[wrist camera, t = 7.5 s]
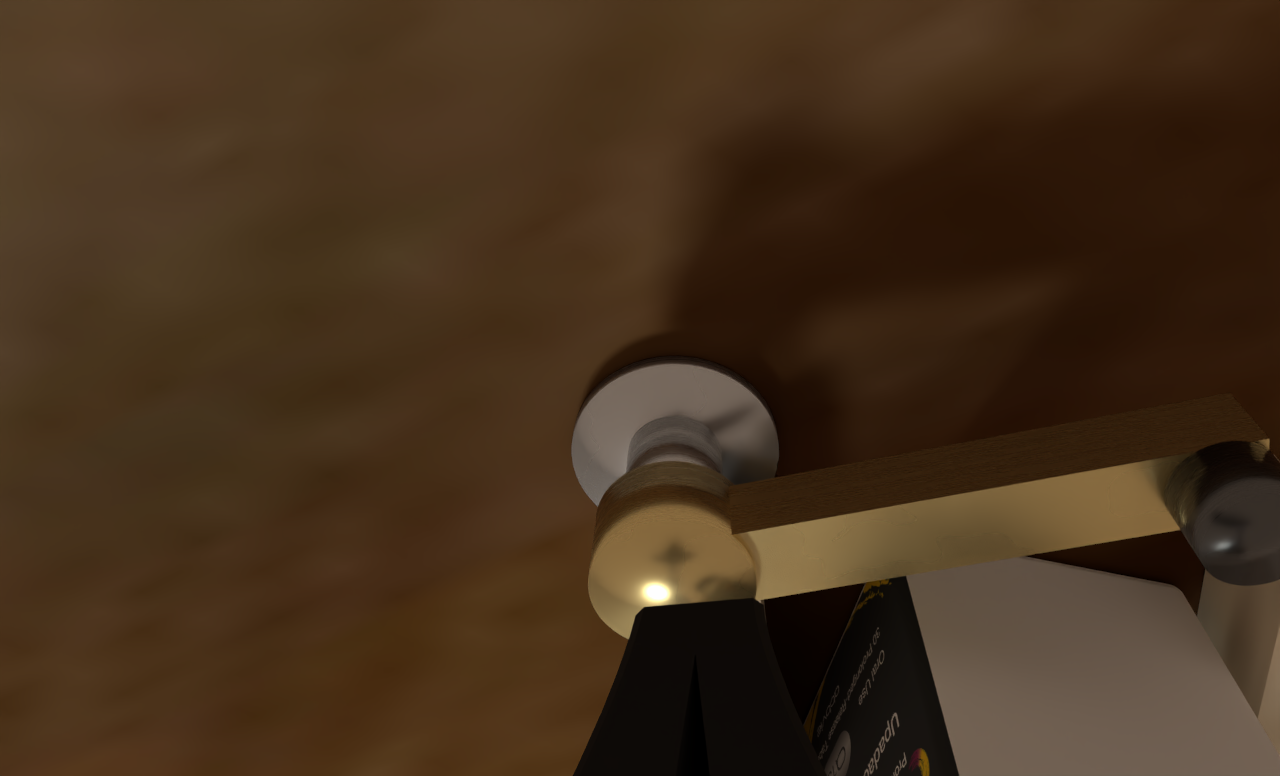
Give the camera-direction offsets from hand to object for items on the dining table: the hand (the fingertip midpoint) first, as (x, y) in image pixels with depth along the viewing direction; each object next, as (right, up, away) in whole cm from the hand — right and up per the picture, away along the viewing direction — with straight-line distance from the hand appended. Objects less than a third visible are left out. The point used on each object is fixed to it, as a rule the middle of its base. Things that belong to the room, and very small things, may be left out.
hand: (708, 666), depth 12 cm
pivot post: (0, +2, +10) cm, 11 cm away
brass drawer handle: (+4, +1, +7) cm, 9 cm away
